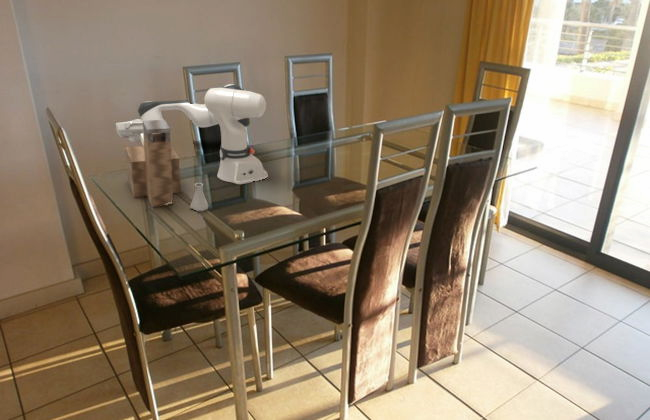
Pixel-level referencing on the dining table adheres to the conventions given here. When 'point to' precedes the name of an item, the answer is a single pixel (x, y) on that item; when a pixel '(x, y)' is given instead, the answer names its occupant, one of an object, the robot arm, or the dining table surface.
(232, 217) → the dining table surface
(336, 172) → the dining table surface
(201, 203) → the flask
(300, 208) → the dining table surface
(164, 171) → the walnut holder
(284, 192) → the dining table surface
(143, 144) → the gauge bar
